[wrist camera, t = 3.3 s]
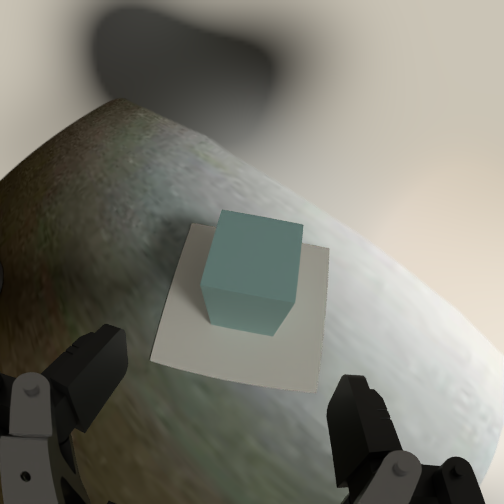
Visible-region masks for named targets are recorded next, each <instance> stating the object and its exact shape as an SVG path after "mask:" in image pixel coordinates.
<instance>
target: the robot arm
mask: <svg viewBox="0 0 504 504" xmlns="http://www.w3.org/2000/svg"><path fill="white" fill-rule="evenodd" d="M2 283H3V269H2V265H1V263H0V291H1V288H2ZM127 367H128V356H127V344H126V333H125V331H124V330H123V329H120V328H117V327H114V326H112V325H109V324H104V325H103V326H102V327H101V328H100V329H99V330H97V331H96V332H95V333H93V332H90V333H88V334H86V335H83V336H81V337H79V338H78V339H77V340H76V341H75V342H74V343H73V344H72V346H70V347H69V348H68V349H66V352H63V353H62V354H61V355H60V356H59V357H58V358H57V359H56V360H55V361H54V362H53V363H52V364H51V365H50V366H49V367H48V368H46V369H45V370H44V371H43V372H42V373H41V374H38V373H32V372H31V373H25V374H22V375H20V376H19V377H18V378H14V377H11V376H8V375H5V374H2V373H0V470H1V483H2V492H3V499H4V504H91V502H90V499H89V496H88V494H87V491H86V489H85V487H84V485H83V483H82V481H81V478H80V474H79V470H78V466H77V461H76V456H75V452H74V446H73V441H72V436H71V432H72V431H73V429H74V428H76V429H78V430H80V431H82V432H84V433H85V432H86V431H87V429H88V428H89V426H90V425H91V423H92V422H93V420H94V419H95V417H96V416H97V414H98V413H99V412H100V410H101V409H102V407H103V406H104V404H105V403H106V401H107V400H108V399H109V397H110V396H111V394H112V393H113V391H114V390H115V388H116V387H117V386H118V384H119V383H120V381H121V380H122V379H123V377H124V376H125V374H126V371H127ZM327 423H328V429H329V435H330V442H331V448H332V455H333V462H334V469H335V477H336V484H337V488H342V487H348V488H349V494H348V495H347V496H346V497H345V498H344V500H343V501H342V502H341V504H485V502H484V499H483V496H482V493H481V490H480V487H479V485H478V482H477V479H476V477H475V474H474V472H473V469H472V467H471V465H470V464H469V462H468V461H466V460H465V459H463V458H461V457H451V458H449V459H447V460H446V461H445V462H444V463H443V464H442V465H441V466H433V465H423V464H421V463H420V461H419V460H418V458H417V457H416V456H415V455H413V454H412V453H410V452H407V451H403V449H402V447H401V444H400V441H399V439H398V436H397V433H396V431H395V428H394V425H393V423H392V420H390V415H389V413H388V411H387V408H386V405H385V403H384V400H383V398H382V397H381V396H380V395H379V394H378V393H377V392H376V391H375V390H374V389H370V388H369V386H368V383H367V381H366V378H365V377H364V376H361V375H346V374H345V375H343V376H342V377H341V379H340V381H339V383H338V386H337V388H336V390H335V392H334V394H333V396H332V398H331V400H330V402H329V404H328V408H327ZM107 504H115V503H113V502H111V501H108V503H107Z"/></svg>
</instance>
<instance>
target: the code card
mask: <svg viewBox="0 0 504 504" xmlns="http://www.w3.org/2000/svg"><path fill="white" fill-rule="evenodd" d="M215 231H216V227H213V226H207V225H201V224H196V223H192V224H191V227H190V230H189V233H188V236H187V239H186V242H185V244H184V247H183V250H182V253H181V256H180V259H179V262H178V265H177V268H176V272H175V275H174V278H173V281H172V284H171V287H170V291H169V294H168V297H167V300H166V304H165V307H164V311H163V314H162V317H161V321H160V324H159V328H158V332H157V335H156V339H155V343H154V346H153V350H152V354H151V358H150V361H152V362H156V363H159V364H162V365H166V366H169V367H173V368H177V369H180V370H184V371H188V372H192V373H196V374H200V375H205V376H209V377H214V378H218V379H223V380H228V381H233V382H238V383H244V384H249V385H255V386H261V387H268V388H275V389H282V390H290V391H299V392H309V393H316V392H317V385H318V378H319V371H320V363H321V354H322V345H323V336H324V325H325V314H326V301H327V286H328V269H329V248H324V247H319V246H314V245H309V244H304V243H302V245H301V255H300V265H299V274H298V283H297V292H296V300H295V304H294V305H293V307H292V309H291V310H290V312H289V313H288V315H287V316H286V318H285V319H284V321H283V322H282V324H281V325H280V327H279V328H278V330H277V331H276V333H275V334H274V336H268V335H262V334H256V333H251V332H246V331H240V330H235V329H230V328H225V327H221V326H216V325H211V322H210V319H209V315H208V312H207V308H206V305H205V301H204V298H203V294H202V290H201V287H200V283H201V279H202V276H203V272H204V269H205V265H206V262H207V258H208V255H209V251H210V248H211V244H212V241H213V237H214V234H215Z"/></svg>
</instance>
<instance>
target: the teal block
mask: <svg viewBox="0 0 504 504" xmlns="http://www.w3.org/2000/svg"><path fill="white" fill-rule="evenodd" d="M302 235H303V225H302V224H297V223H292V222H287V221H282V220H277V219H271V218H266V217H261V216H255V215H250V214H244V213H238V212H233V211H227V210H222V211H221V214H220V217H219V221H218V224H217V227H216V231H215V234H214V237H213V241H212V244H211V248H210V251H209V255H208V258H207V262H206V265H205V269H204V272H203V276H202V279H201V283H200V287H201V290H202V294H203V298H204V301H205V305H206V308H207V312H208V315H209V319H210V322H211V325H216V326H221V327H225V328H230V329H235V330H240V331H246V332H251V333H256V334H262V335H268V336H274V334H275V333H276V331H277V330H278V328H279V327H280V325H281V324H282V322H283V321H284V319H285V318H286V316H287V315H288V313H289V312H290V310H291V309H292V307H293V305H294V304H295V300H296V292H297V283H298V274H299V265H300V255H301V245H302Z"/></svg>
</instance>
